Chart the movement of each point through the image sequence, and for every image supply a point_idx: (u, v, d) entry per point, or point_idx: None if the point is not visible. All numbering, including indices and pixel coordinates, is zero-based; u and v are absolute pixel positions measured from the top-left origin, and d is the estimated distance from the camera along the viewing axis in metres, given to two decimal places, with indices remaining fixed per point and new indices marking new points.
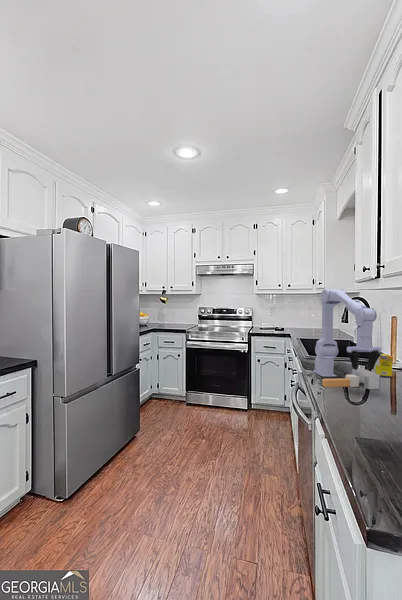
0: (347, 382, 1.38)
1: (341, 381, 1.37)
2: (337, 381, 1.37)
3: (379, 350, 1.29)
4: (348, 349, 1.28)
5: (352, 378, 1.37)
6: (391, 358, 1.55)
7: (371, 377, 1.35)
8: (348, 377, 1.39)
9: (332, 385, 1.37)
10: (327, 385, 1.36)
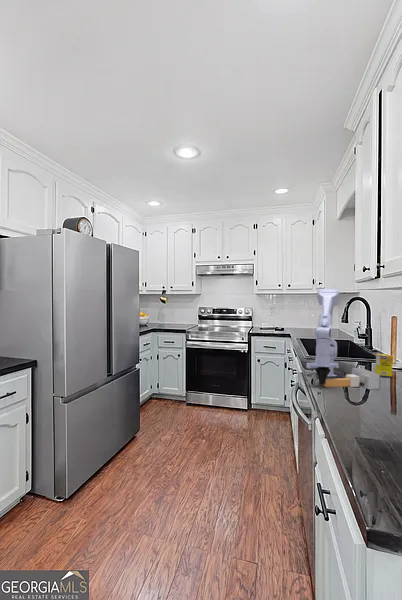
0: (347, 382, 1.38)
1: (341, 381, 1.37)
2: (337, 381, 1.37)
3: (337, 366, 1.37)
4: (307, 365, 1.36)
5: (353, 378, 1.37)
6: (391, 358, 1.55)
7: (371, 377, 1.35)
8: (348, 377, 1.39)
9: (332, 385, 1.37)
10: (327, 385, 1.36)
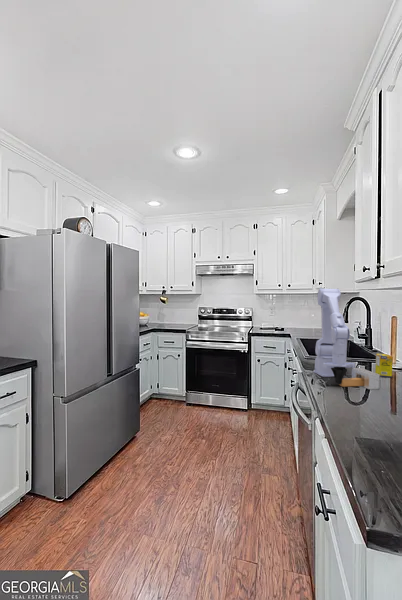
0: (363, 381, 1.40)
1: (357, 380, 1.39)
2: (354, 380, 1.39)
3: (353, 366, 1.38)
4: (324, 365, 1.37)
5: None
6: (391, 358, 1.55)
7: (371, 377, 1.35)
8: (364, 376, 1.41)
9: (349, 384, 1.38)
10: (344, 384, 1.38)
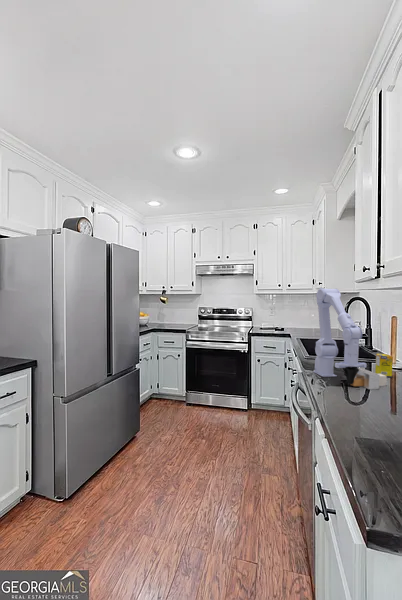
0: None
1: None
2: None
3: (365, 366, 1.39)
4: (336, 365, 1.38)
5: (380, 377, 1.40)
6: (391, 358, 1.55)
7: (371, 377, 1.35)
8: None
9: (361, 384, 1.39)
10: (356, 384, 1.39)
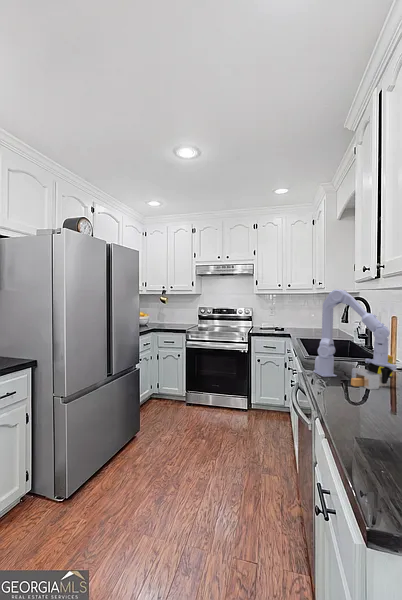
0: None
1: None
2: None
3: (392, 368, 1.35)
4: None
5: (381, 378, 1.40)
6: (391, 358, 1.55)
7: (371, 377, 1.35)
8: None
9: (361, 384, 1.39)
10: (356, 384, 1.39)
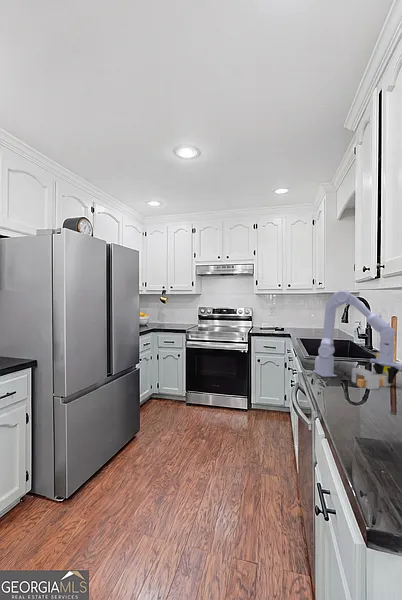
0: (380, 381, 1.40)
1: None
2: None
3: (399, 368, 1.36)
4: None
5: (386, 378, 1.40)
6: None
7: (371, 377, 1.35)
8: (381, 376, 1.41)
9: None
10: (363, 385, 1.38)
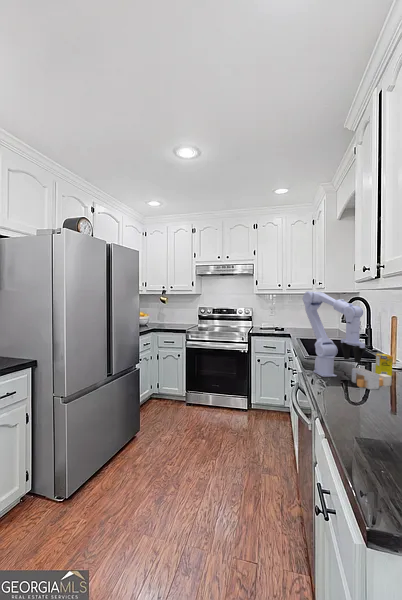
0: (380, 382, 1.40)
1: None
2: None
3: (360, 346, 1.37)
4: None
5: (386, 378, 1.40)
6: (391, 358, 1.55)
7: (371, 377, 1.35)
8: (381, 377, 1.42)
9: None
10: (363, 385, 1.38)
